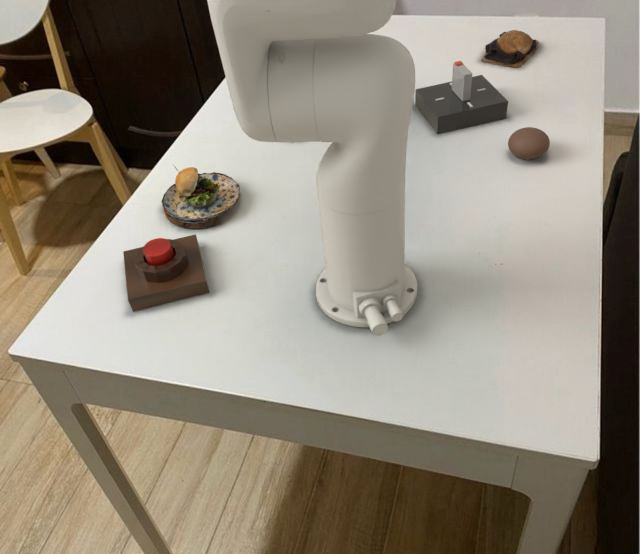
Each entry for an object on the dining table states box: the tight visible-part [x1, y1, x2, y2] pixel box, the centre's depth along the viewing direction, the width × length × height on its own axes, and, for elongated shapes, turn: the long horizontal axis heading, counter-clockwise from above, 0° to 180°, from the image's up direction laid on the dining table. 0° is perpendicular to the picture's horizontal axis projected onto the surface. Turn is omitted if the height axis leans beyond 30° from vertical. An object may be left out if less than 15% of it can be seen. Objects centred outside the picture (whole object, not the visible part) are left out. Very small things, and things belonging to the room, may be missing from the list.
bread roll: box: [481, 29, 540, 68], centre depth 121 cm, size 11×8×4 cm
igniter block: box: [122, 234, 210, 313], centre depth 86 cm, size 10×10×4 cm
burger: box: [161, 164, 241, 229], centre depth 96 cm, size 12×12×8 cm
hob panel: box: [414, 74, 509, 135], centre depth 109 cm, size 10×12×3 cm
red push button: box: [142, 237, 174, 266], centre depth 84 cm, size 4×4×2 cm
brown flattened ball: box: [507, 126, 551, 160], centre depth 98 cm, size 6×6×4 cm
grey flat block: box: [451, 60, 473, 101], centre depth 106 cm, size 4×1×5 cm, turn 15°
